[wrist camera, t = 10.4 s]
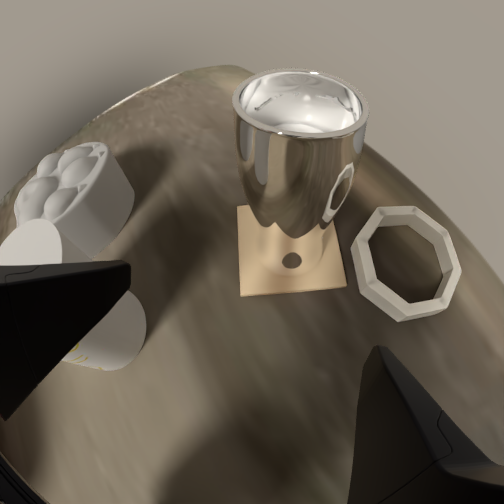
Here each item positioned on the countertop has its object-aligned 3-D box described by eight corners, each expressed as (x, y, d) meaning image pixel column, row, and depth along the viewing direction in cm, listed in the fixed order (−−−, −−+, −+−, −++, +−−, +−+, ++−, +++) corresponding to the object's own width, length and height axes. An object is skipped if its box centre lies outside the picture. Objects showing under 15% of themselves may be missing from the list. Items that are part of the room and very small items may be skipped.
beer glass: (266, 294, 23) (259, 158, 10) (239, 227, 26) (211, 80, 13) (340, 265, 24) (402, 126, 10) (307, 204, 27) (325, 61, 13)
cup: (66, 351, 22) (-27, 315, 11) (92, 278, 25) (15, 213, 14) (131, 383, 20) (32, 367, 10) (157, 298, 24) (83, 226, 13)
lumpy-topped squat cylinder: (43, 226, 29) (5, 187, 21) (118, 167, 32) (91, 117, 24) (60, 285, 25) (8, 248, 17) (150, 214, 28) (117, 157, 20)
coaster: (241, 296, 23) (240, 295, 23) (237, 208, 28) (237, 206, 27) (345, 287, 23) (346, 285, 23) (327, 202, 27) (327, 200, 27)
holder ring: (365, 327, 21) (373, 322, 20) (343, 219, 26) (347, 208, 24) (458, 308, 21) (470, 302, 19) (429, 216, 26) (437, 205, 24)
